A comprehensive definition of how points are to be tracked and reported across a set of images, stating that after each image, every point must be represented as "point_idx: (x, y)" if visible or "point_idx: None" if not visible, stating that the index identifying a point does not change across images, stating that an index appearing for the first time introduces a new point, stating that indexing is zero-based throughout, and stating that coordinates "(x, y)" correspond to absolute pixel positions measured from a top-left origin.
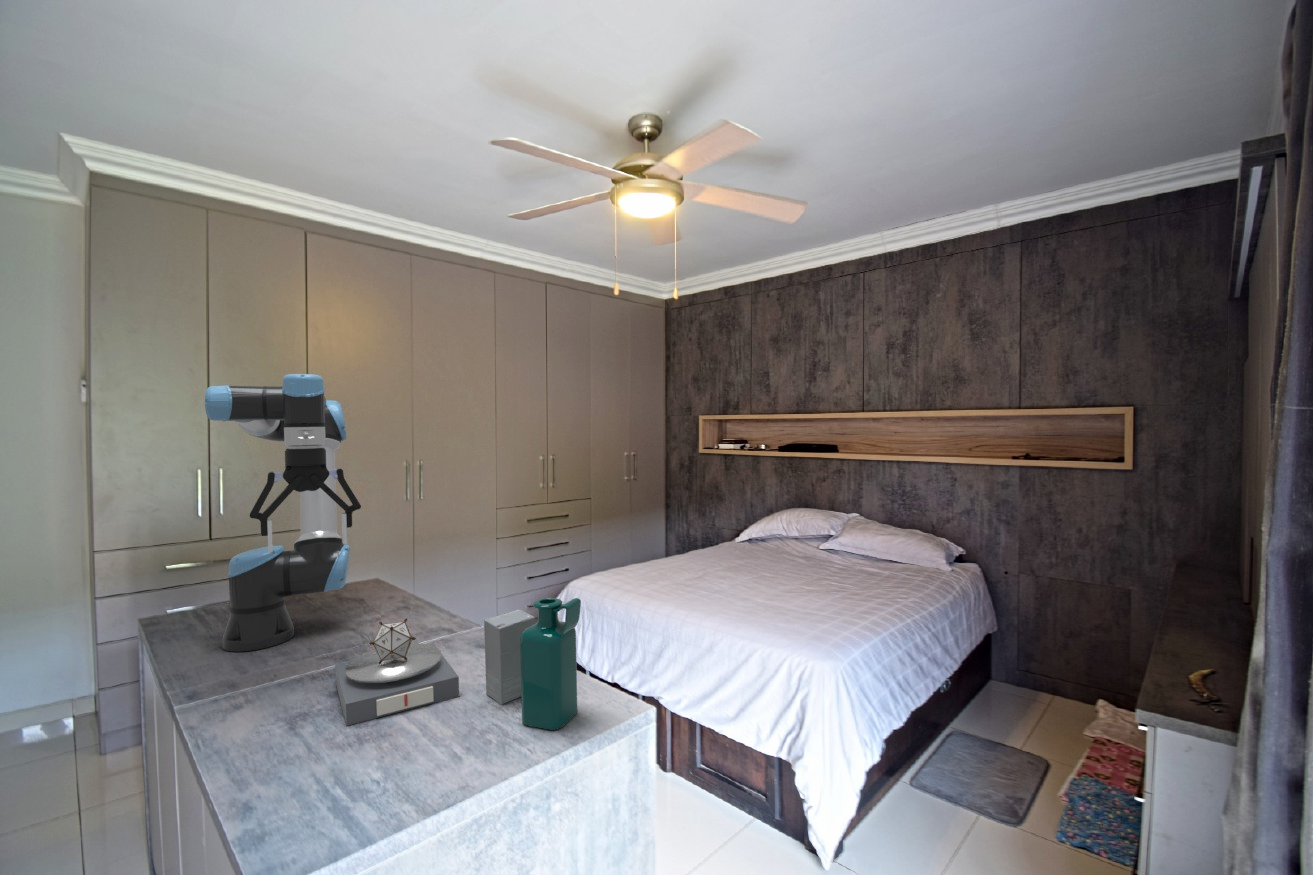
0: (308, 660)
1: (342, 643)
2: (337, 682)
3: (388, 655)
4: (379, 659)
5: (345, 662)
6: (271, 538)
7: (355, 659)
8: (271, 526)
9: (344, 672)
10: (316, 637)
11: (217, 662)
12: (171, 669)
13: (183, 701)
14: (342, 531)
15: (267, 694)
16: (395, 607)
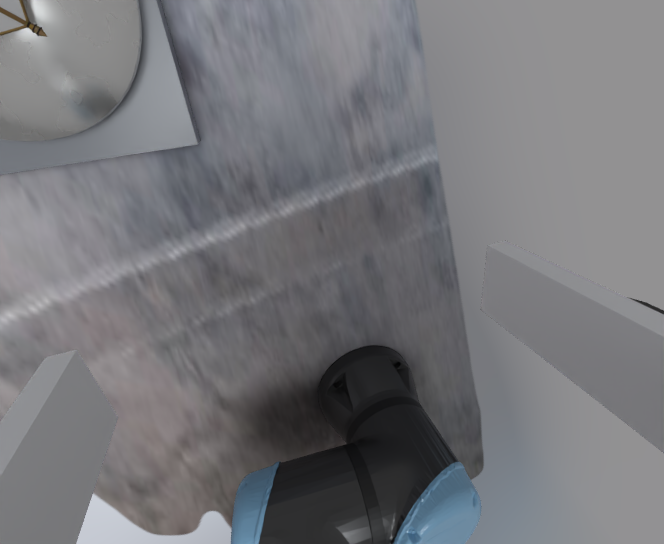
0: (276, 279)
1: (229, 342)
2: (181, 80)
3: None
4: (38, 22)
5: (172, 138)
6: (560, 279)
7: (123, 66)
8: (659, 333)
9: (157, 61)
10: (281, 379)
11: (406, 315)
12: (455, 308)
13: (435, 173)
14: (52, 456)
15: (320, 138)
16: (162, 491)
